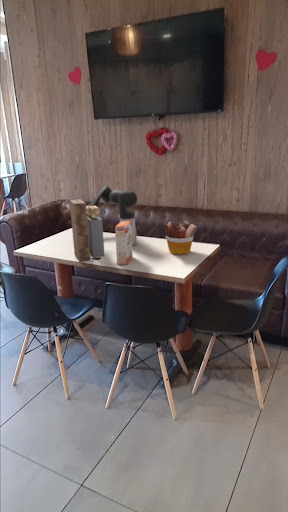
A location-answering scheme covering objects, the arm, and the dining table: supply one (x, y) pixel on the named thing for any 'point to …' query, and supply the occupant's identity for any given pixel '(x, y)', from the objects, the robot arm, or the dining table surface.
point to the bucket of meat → (179, 237)
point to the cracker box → (124, 242)
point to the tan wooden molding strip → (92, 211)
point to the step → (95, 236)
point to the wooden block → (80, 230)
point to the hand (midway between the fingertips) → (87, 207)
